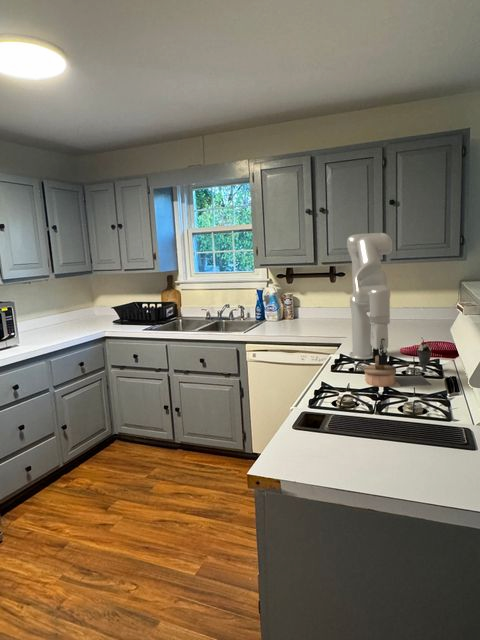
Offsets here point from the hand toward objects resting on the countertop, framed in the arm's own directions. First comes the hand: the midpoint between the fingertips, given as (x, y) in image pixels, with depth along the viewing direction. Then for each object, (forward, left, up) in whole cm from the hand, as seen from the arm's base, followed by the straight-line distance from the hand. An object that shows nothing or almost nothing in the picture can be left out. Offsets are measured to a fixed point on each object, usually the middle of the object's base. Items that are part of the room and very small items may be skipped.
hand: (379, 361), depth 178 cm
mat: (0, +13, -9) cm, 16 cm away
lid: (0, 0, -4) cm, 4 cm away
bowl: (0, 0, -9) cm, 9 cm away
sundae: (-12, +22, -9) cm, 26 cm away
